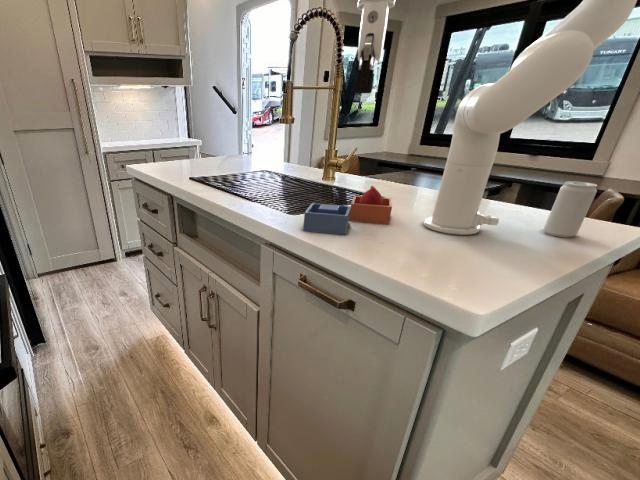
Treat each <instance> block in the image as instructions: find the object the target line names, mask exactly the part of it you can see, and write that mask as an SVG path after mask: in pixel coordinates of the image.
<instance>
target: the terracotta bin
mask: <svg viewBox="0 0 640 480" xmlns="http://www.w3.org/2000/svg"><path fill="white" fill-rule="evenodd" d="M361 197H362V195H354V196H353V198H352V200H351V203H350V206H351V210H350V217H349V222H358V223H359V222H360V223H370V224H379V225H380V224H381V225H390V219H391V213H392V208H393V201H392V198H391V197H382V206H380V205H367V204H360V199H361Z"/></svg>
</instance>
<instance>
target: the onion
mask: <svg viewBox="0 0 640 480" xmlns="http://www.w3.org/2000/svg"><path fill="white" fill-rule="evenodd" d="M361 196H362V197H361V199H360V204H367V205H380V206H382V198H383V197H382V193H380V191H379V190H378V189H377V188H376V187H375V186H374V185H370V188H369V189H368V190H366V191H364V193H363V194H362V195H361Z"/></svg>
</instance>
